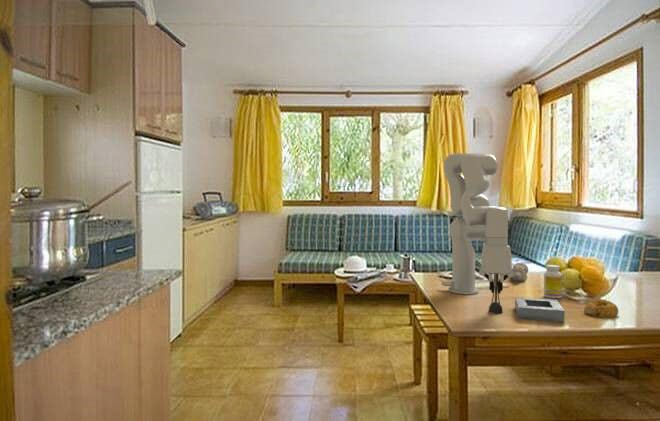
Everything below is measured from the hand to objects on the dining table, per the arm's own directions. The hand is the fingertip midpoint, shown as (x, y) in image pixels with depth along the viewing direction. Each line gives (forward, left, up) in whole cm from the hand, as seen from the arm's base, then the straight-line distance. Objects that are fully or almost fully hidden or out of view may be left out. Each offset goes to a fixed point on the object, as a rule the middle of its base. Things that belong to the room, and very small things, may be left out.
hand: (495, 292), depth 160 cm
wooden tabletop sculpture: (0, 0, -7) cm, 7 cm away
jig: (+14, 0, -7) cm, 16 cm away
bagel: (+35, +8, -8) cm, 37 cm away
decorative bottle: (+12, +65, -8) cm, 67 cm away
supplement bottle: (+23, +30, -7) cm, 39 cm away
